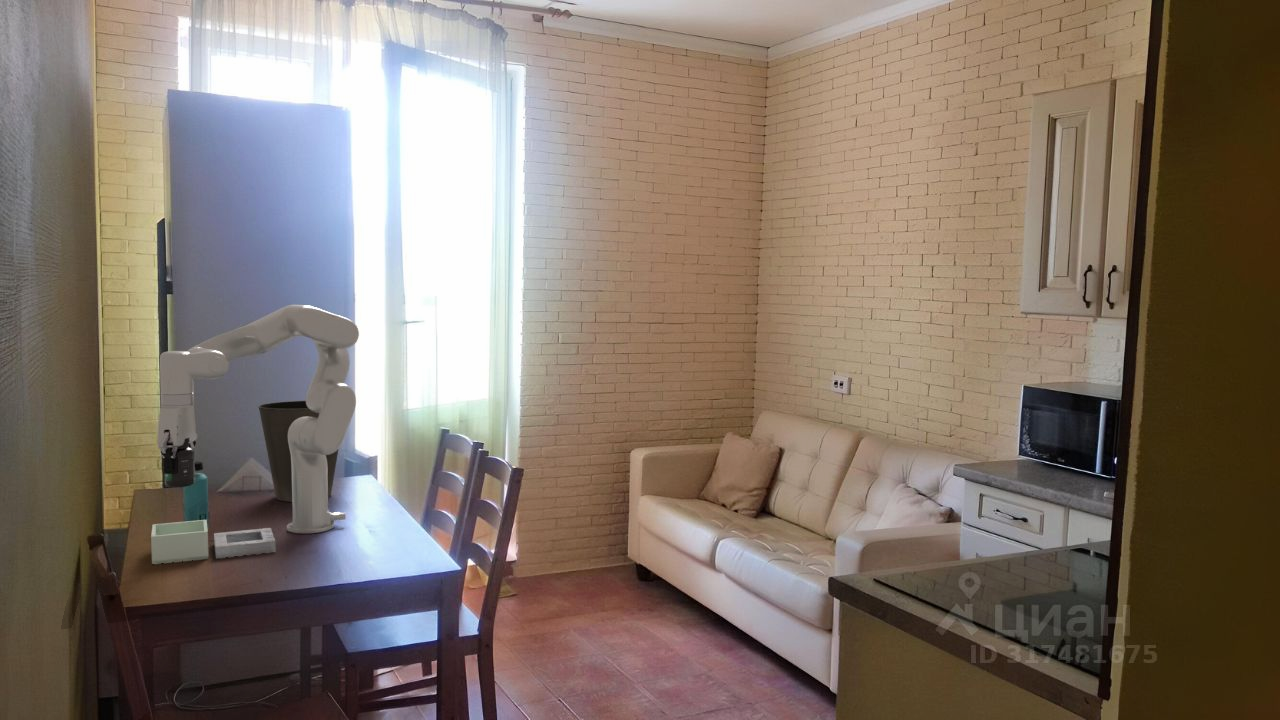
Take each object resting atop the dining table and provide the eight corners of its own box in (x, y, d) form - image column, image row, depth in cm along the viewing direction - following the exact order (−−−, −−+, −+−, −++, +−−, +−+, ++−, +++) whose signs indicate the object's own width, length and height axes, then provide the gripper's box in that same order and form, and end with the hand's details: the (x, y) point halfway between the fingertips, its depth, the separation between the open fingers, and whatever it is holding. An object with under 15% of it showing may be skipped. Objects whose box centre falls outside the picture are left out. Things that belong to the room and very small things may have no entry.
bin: (207, 545, 249) (206, 519, 249) (208, 558, 238) (207, 531, 237) (153, 551, 244) (152, 524, 243) (152, 564, 233) (151, 536, 232)
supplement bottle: (167, 488, 235) (166, 440, 234) (163, 483, 240) (161, 436, 239) (197, 485, 239) (196, 438, 238) (192, 480, 244) (191, 434, 243)
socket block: (270, 538, 257) (270, 527, 257) (275, 552, 244) (275, 541, 244) (214, 544, 251) (214, 533, 250) (216, 558, 238) (215, 547, 238)
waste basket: (338, 486, 322) (337, 398, 319) (356, 498, 305) (354, 405, 302) (254, 494, 307) (252, 402, 305) (267, 508, 290) (265, 410, 288)
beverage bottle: (199, 537, 257) (197, 464, 255) (178, 536, 258) (176, 463, 256) (215, 531, 263) (213, 460, 261) (194, 530, 264) (192, 459, 263)
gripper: (182, 395, 247) (183, 463, 248) (142, 404, 229) (144, 477, 231) (210, 396, 246) (211, 464, 248) (172, 405, 229) (174, 478, 230)
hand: (179, 470), depth 239 cm, fingers closed on supplement bottle, 6 cm apart
